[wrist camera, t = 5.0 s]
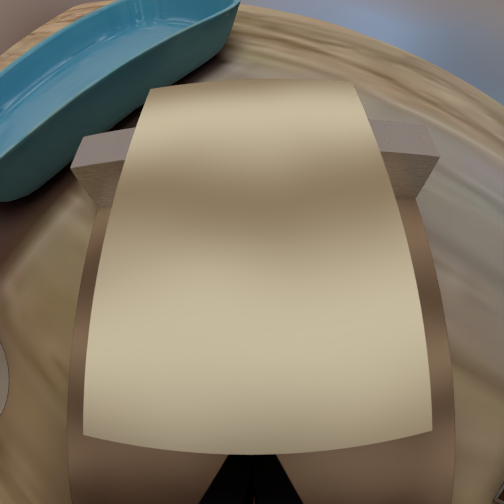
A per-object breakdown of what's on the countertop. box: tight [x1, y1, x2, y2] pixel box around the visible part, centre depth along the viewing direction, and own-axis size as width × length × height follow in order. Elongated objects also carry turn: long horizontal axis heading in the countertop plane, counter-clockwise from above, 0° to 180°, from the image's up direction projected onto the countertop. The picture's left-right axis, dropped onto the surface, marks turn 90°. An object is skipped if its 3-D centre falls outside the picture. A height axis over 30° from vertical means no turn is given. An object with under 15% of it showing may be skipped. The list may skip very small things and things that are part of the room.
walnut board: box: [67, 198, 455, 504], centre depth 14 cm, size 29×20×2 cm
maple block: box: [83, 79, 432, 455], centre depth 12 cm, size 12×8×8 cm, turn 1°
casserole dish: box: [0, 0, 240, 202], centre depth 24 cm, size 37×22×7 cm, turn 143°
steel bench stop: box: [70, 119, 440, 208], centre depth 17 cm, size 2×20×4 cm, turn 91°
